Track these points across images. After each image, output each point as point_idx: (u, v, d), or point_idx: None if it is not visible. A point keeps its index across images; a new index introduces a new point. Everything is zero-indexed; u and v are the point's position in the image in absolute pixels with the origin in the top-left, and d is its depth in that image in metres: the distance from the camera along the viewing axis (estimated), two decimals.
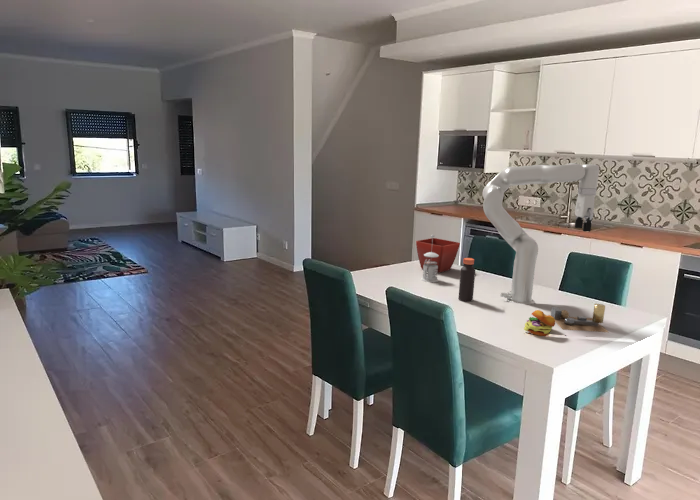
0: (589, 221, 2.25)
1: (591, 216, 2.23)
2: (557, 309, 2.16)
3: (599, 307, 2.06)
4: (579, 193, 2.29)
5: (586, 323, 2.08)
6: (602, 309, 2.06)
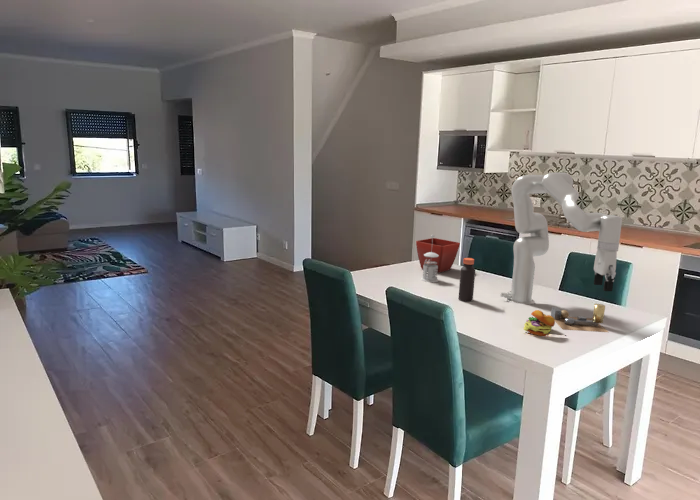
0: (611, 280, 1.99)
1: (613, 275, 1.96)
2: (557, 309, 2.16)
3: (599, 307, 2.06)
4: (599, 248, 2.02)
5: (586, 323, 2.08)
6: (602, 309, 2.06)
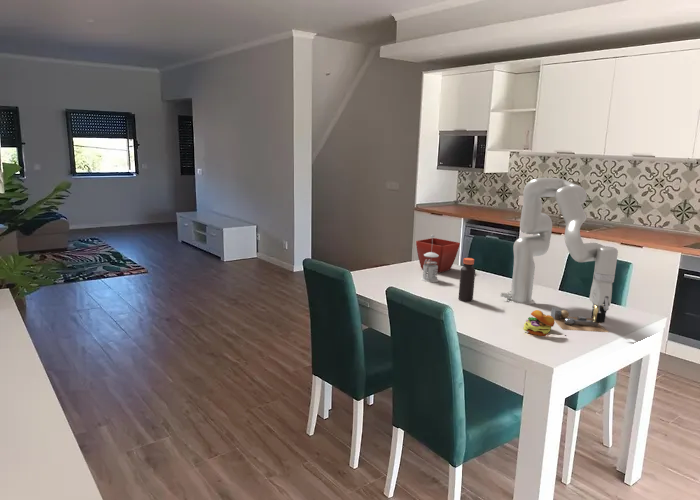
0: (603, 312, 2.04)
1: (605, 310, 2.01)
2: (557, 309, 2.16)
3: None
4: (595, 278, 2.04)
5: (586, 323, 2.08)
6: None
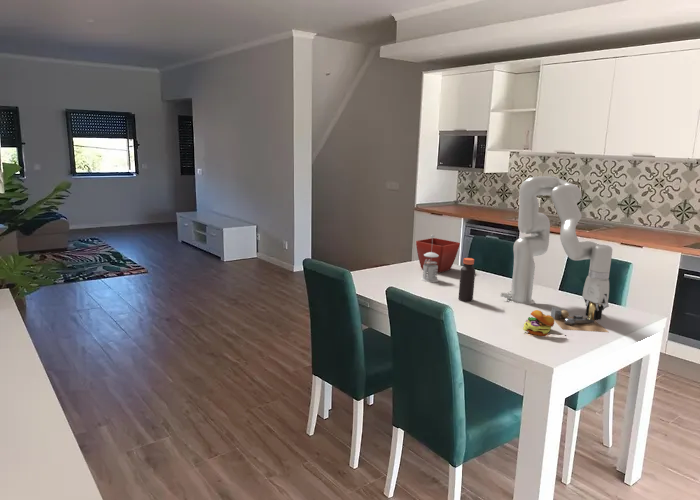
0: (601, 309, 2.07)
1: (605, 307, 2.05)
2: (557, 309, 2.16)
3: None
4: (592, 277, 2.07)
5: (584, 321, 2.10)
6: None
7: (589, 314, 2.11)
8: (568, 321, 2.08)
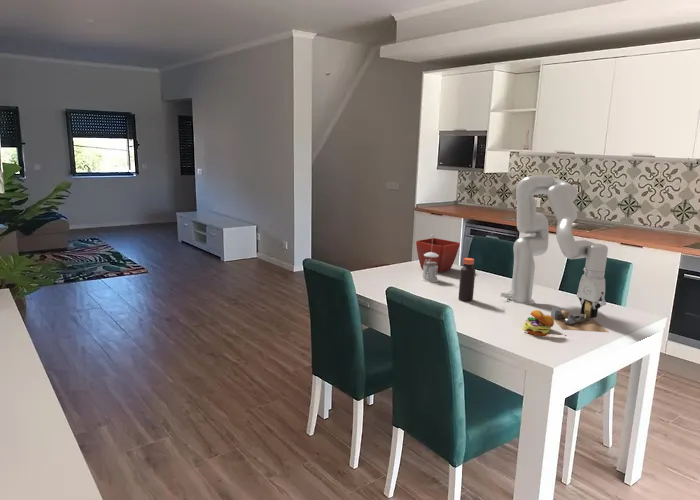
0: (598, 307, 2.10)
1: (603, 305, 2.07)
2: (557, 309, 2.16)
3: None
4: (589, 276, 2.08)
5: (582, 320, 2.12)
6: None
7: (585, 312, 2.13)
8: (569, 321, 2.08)
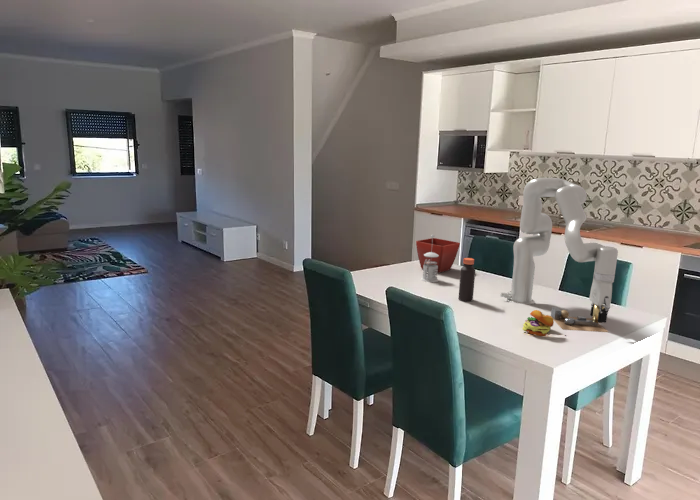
0: (605, 312, 2.02)
1: (607, 308, 2.00)
2: (557, 309, 2.16)
3: (599, 307, 2.06)
4: (595, 278, 2.04)
5: (586, 323, 2.08)
6: None
7: (593, 316, 2.09)
8: (567, 321, 2.08)
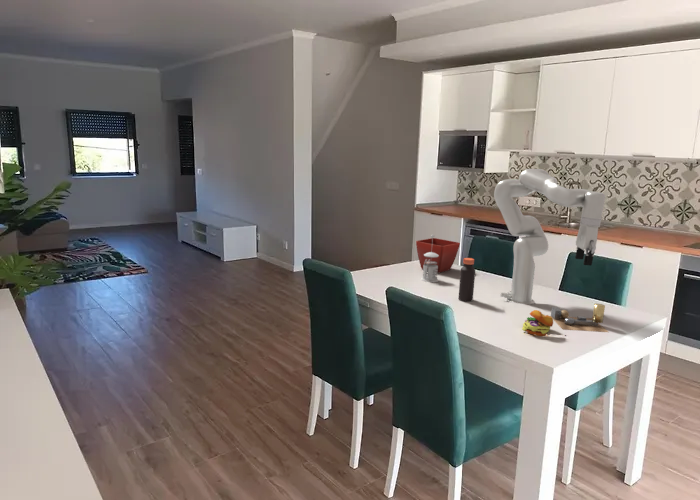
0: (591, 255, 2.06)
1: (593, 250, 2.04)
2: (557, 309, 2.16)
3: (599, 307, 2.06)
4: (581, 223, 2.09)
5: (586, 323, 2.08)
6: (602, 309, 2.06)
7: (593, 316, 2.09)
8: (567, 321, 2.08)
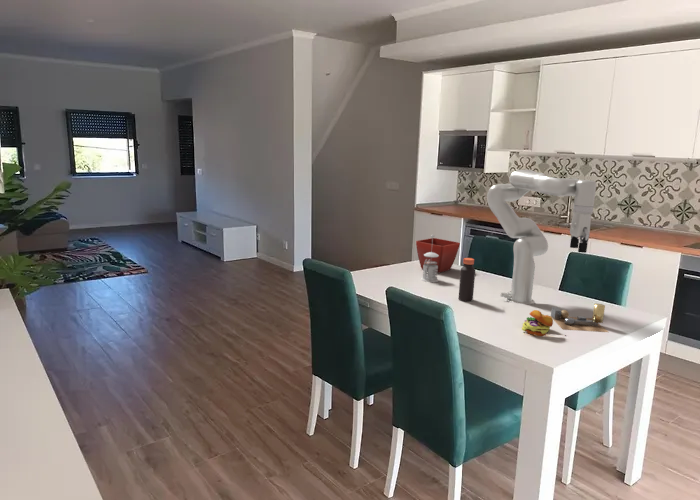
0: (585, 241, 2.08)
1: (587, 236, 2.06)
2: (557, 309, 2.16)
3: (599, 307, 2.06)
4: (574, 211, 2.12)
5: (586, 323, 2.08)
6: (602, 309, 2.06)
7: (593, 316, 2.09)
8: (567, 321, 2.08)
